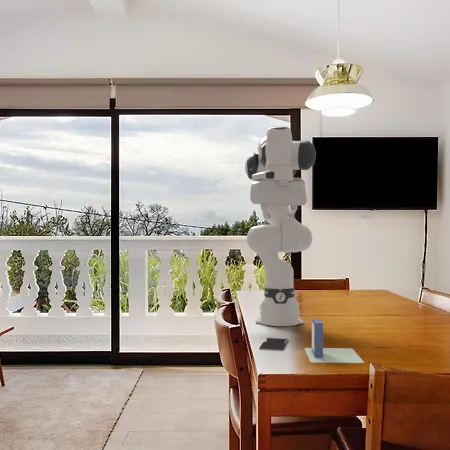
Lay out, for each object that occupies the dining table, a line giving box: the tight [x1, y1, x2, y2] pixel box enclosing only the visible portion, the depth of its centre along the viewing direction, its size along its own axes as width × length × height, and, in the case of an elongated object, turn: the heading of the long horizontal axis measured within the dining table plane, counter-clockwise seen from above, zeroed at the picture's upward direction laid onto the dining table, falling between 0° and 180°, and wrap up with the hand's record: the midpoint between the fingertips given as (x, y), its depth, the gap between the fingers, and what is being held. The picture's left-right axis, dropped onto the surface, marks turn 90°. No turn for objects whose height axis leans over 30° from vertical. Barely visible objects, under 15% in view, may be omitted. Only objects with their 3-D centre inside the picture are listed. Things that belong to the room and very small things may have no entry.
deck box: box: [311, 318, 324, 358], centre depth 146 cm, size 6×2×10 cm, turn 177°
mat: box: [303, 347, 365, 364], centre depth 146 cm, size 16×15×1 cm
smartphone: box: [258, 337, 290, 352], centre depth 158 cm, size 8×1×15 cm
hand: (279, 218), depth 158 cm, fingers open, 8 cm apart
